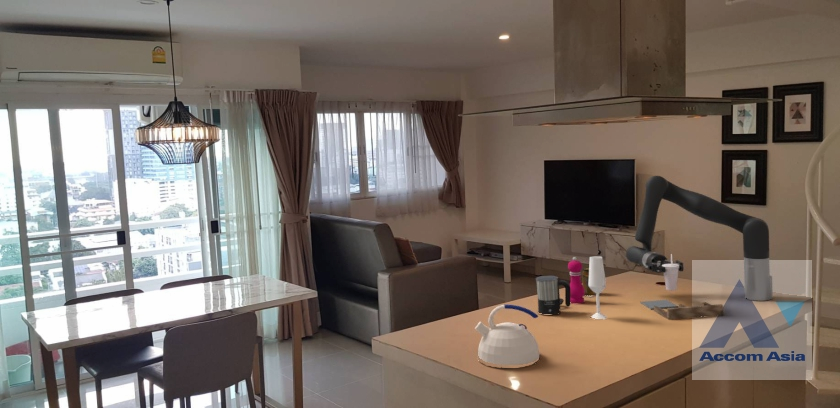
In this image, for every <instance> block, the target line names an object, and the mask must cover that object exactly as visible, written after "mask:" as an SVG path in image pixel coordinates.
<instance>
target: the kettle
mask: <svg viewBox="0 0 840 408" xmlns="http://www.w3.org/2000/svg"><path fill="white" fill-rule="evenodd" d="M505 309H506V310H515V311H520V312H523V313H526V314H527V315H529V316H531V317H532V318H533V319H536V318H539V315H538V313H536V312H534V311H532V310H530V309H528V308H526V307H523V306H519V305H514V304H505V303H504V304H502V305H497V306H496V307H495V308H494V309H492V310H491V312H490V314H489V315H488V319H487V320H488V326H487V325H485V324H484V323H483V322H482V321H479V322H478V323H477V324H476V326H475V327H474V330H475V331H476V332H478V333H479V334H480V335H481V339H480V341H479V345H478V350H477V352H478V353H477V354H478V355H477V357H478V356H479V358H480V359H482V360H483V361H485V362H488V363H493V364H499V365H523V364H528V363H531V362H534V361H536V360H537V359H538V358H539V355H541V354H540V349H539V348H540V347H539V344H538V342H537V340H536V337H535V336H534V335H533V334H532V332H531V331H529V329H528V327H527V326H526V325H525V324H523V323H519V324H518V323H513V322H511V321H510V322H509V321H507V322H500V323H496V324H495V322H494V318H495V315H496V314H497V313H499V311H501V310H505Z"/></svg>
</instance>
